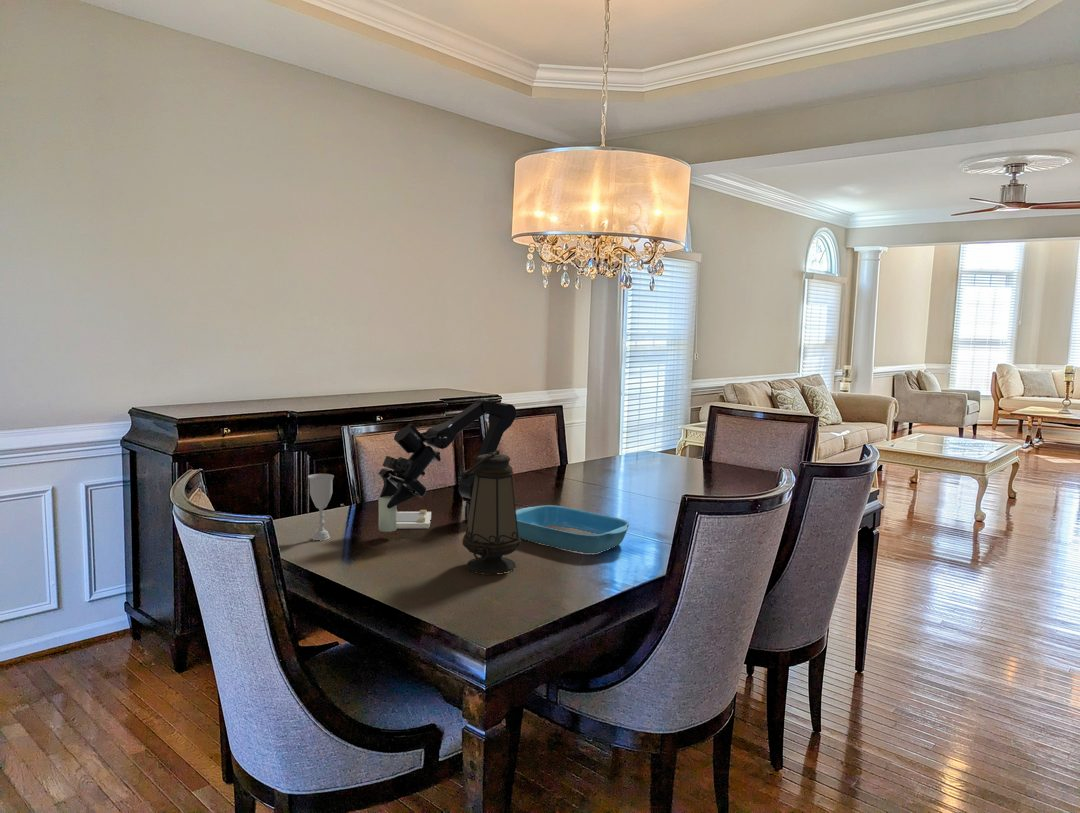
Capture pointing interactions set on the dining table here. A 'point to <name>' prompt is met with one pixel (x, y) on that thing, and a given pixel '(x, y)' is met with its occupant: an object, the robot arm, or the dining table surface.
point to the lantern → (491, 515)
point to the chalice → (321, 499)
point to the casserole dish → (538, 518)
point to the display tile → (413, 519)
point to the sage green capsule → (387, 515)
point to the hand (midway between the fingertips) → (383, 505)
